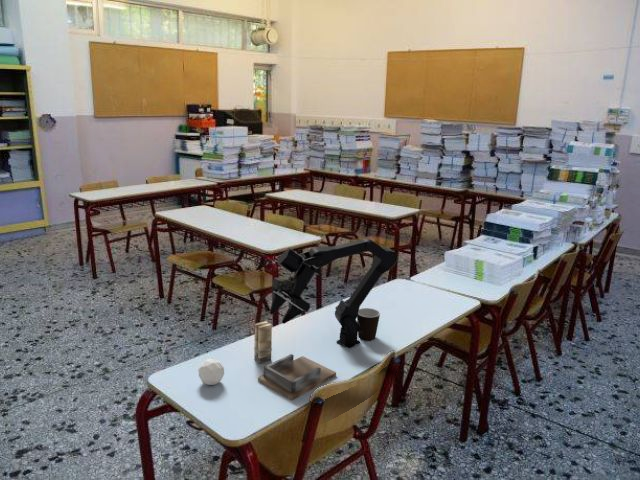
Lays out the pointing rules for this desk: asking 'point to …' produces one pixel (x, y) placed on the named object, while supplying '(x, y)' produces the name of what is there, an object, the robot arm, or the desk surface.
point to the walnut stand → (294, 376)
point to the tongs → (263, 342)
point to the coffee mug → (368, 323)
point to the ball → (211, 371)
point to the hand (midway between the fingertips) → (276, 318)
